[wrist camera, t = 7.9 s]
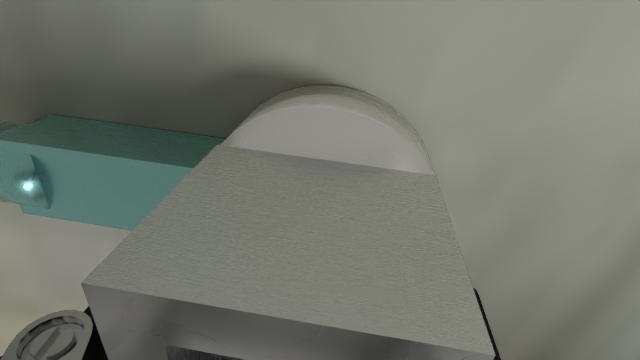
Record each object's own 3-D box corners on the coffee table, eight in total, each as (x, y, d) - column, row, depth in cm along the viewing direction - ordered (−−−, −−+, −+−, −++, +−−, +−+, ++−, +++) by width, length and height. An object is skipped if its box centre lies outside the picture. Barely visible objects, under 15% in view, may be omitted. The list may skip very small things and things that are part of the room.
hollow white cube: (435, 175, 9) (495, 354, 5) (391, 323, 12) (402, 519, 7) (217, 144, 9) (80, 282, 5) (226, 294, 12) (146, 465, 8)
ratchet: (458, 101, 11) (560, 233, 5) (406, 277, 15) (428, 469, 9) (1, 43, 12) (-354, 98, 6) (63, 222, 16) (-118, 360, 10)
